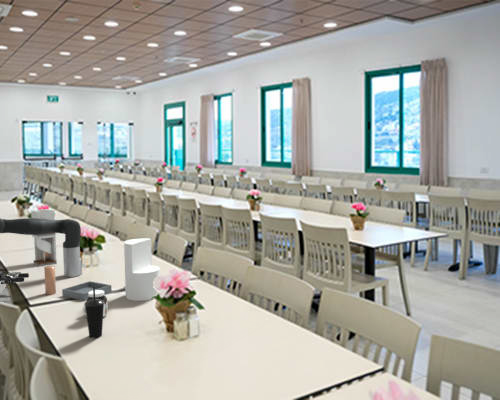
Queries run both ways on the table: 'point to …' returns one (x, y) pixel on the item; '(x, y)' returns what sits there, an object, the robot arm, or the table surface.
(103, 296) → the spread jar
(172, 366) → the table surface
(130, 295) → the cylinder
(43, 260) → the display case
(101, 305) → the drinking cup
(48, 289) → the pillar candle
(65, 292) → the shallow square tray
